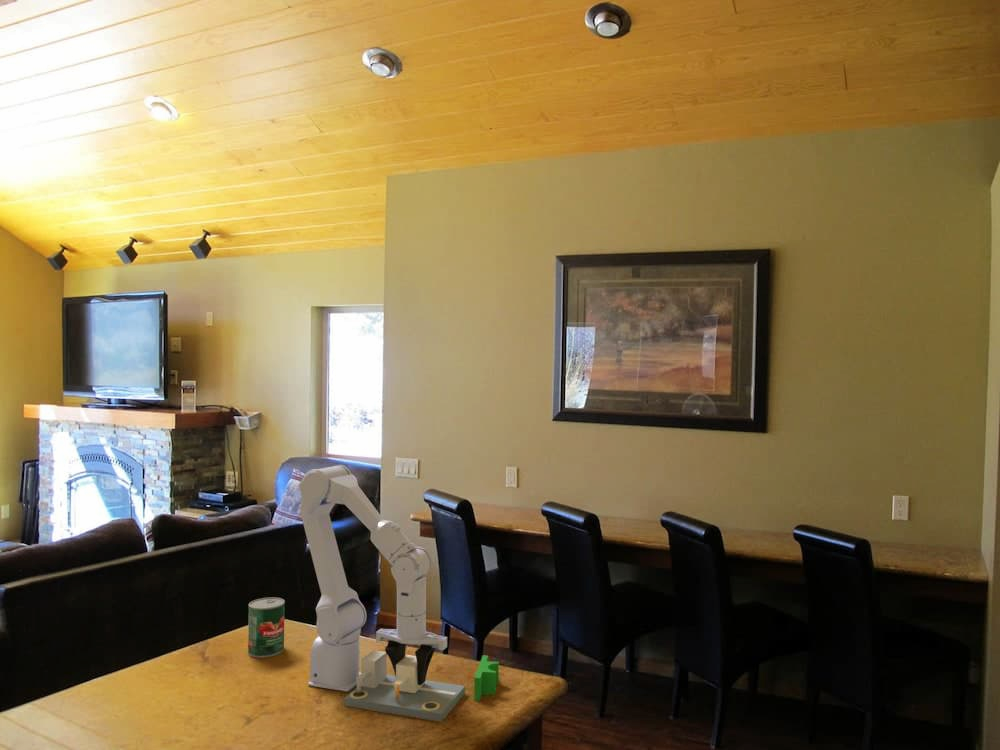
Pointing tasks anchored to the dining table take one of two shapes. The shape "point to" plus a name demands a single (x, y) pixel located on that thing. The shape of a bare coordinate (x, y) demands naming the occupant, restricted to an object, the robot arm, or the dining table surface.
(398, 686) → the block
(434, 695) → the plate
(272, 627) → the canned tomato
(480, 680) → the pipe clamp
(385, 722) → the dining table surface
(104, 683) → the dining table surface
